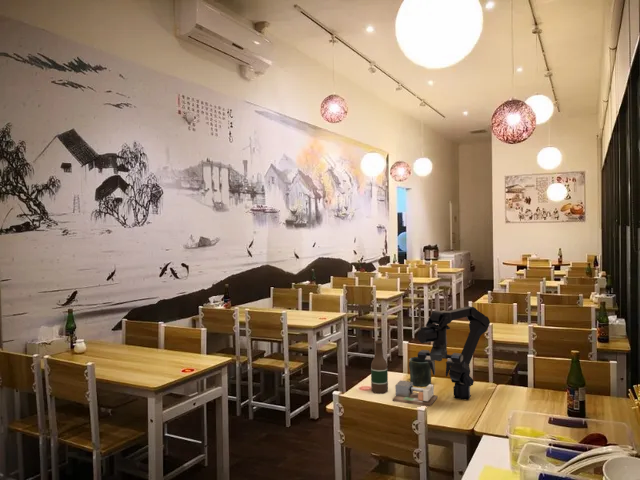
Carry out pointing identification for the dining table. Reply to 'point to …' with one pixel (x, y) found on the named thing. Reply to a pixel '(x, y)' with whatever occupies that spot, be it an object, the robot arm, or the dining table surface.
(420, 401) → the base
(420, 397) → the peach cube
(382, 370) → the beer bottle
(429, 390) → the plunger
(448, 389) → the dining table surface
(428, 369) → the mug
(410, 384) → the notched steel block
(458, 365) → the robot arm
